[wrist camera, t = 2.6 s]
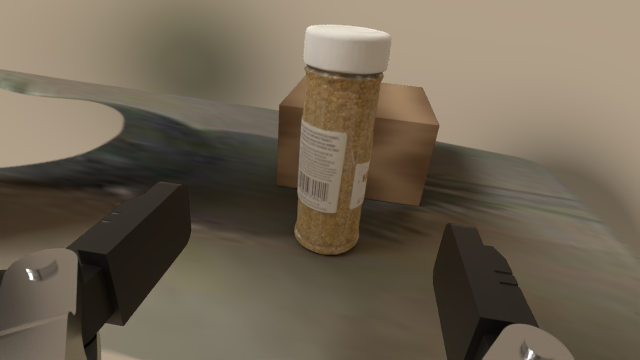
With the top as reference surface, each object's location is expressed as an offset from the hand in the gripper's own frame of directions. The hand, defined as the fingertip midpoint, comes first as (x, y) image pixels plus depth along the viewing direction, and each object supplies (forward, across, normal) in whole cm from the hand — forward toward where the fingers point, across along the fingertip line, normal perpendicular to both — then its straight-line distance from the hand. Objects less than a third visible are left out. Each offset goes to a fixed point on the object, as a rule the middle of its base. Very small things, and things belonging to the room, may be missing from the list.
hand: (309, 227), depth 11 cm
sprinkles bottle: (+12, 0, +9) cm, 14 cm away
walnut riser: (+24, -1, +8) cm, 25 cm away
